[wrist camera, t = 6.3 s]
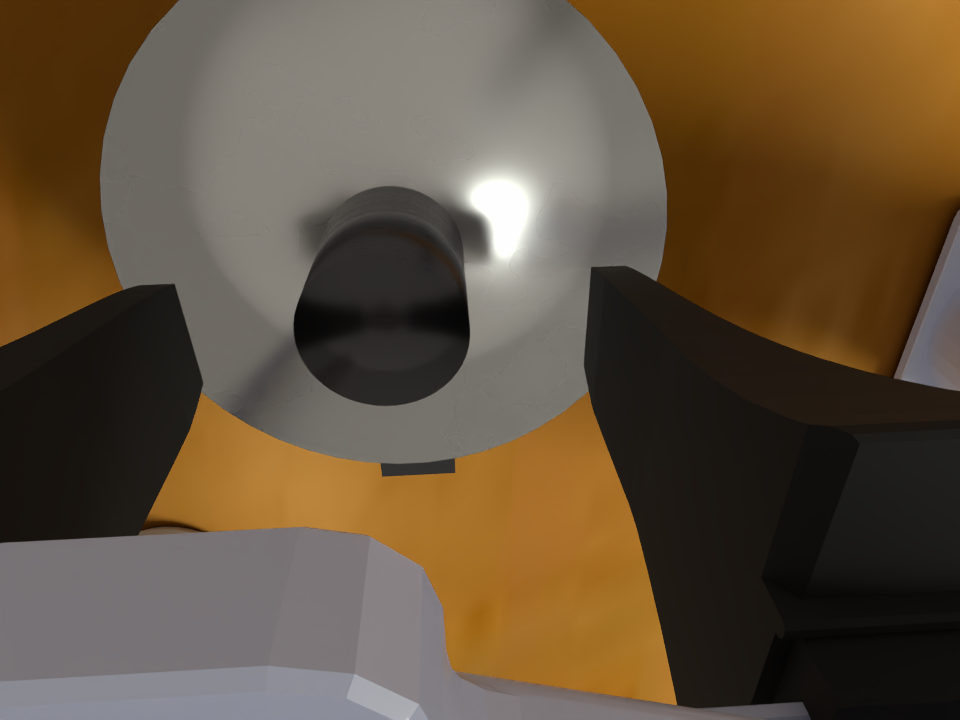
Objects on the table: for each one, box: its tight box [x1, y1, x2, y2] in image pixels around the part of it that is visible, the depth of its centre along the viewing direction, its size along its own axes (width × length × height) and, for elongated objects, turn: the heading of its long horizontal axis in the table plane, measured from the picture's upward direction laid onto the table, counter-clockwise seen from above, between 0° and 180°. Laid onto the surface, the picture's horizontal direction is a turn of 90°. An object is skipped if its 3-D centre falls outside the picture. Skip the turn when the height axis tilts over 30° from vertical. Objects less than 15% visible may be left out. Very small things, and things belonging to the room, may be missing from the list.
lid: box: [100, 0, 667, 464], centre depth 12 cm, size 11×11×4 cm
